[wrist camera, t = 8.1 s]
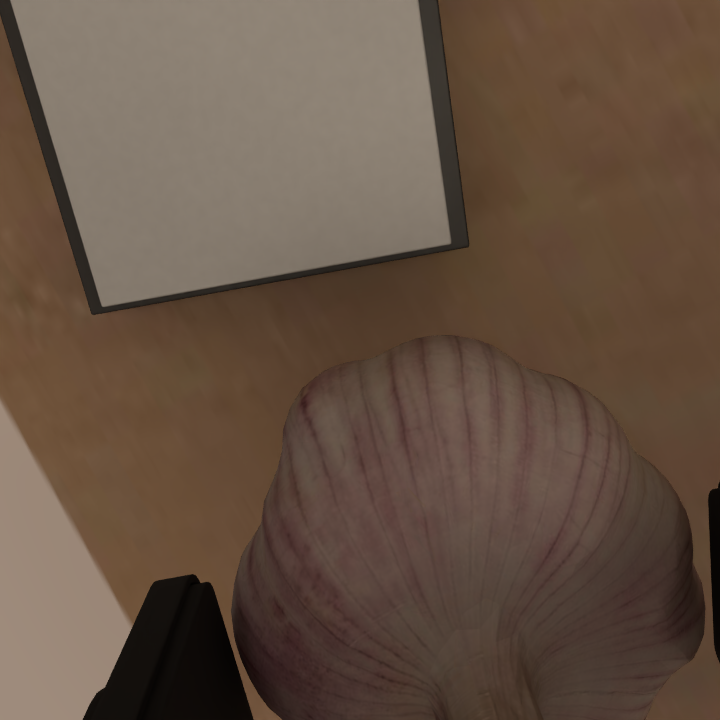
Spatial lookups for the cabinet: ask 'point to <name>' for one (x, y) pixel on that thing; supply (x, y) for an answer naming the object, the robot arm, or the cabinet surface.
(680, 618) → the garlic bulb
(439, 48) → the scale
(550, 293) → the cabinet surface
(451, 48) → the cabinet surface
